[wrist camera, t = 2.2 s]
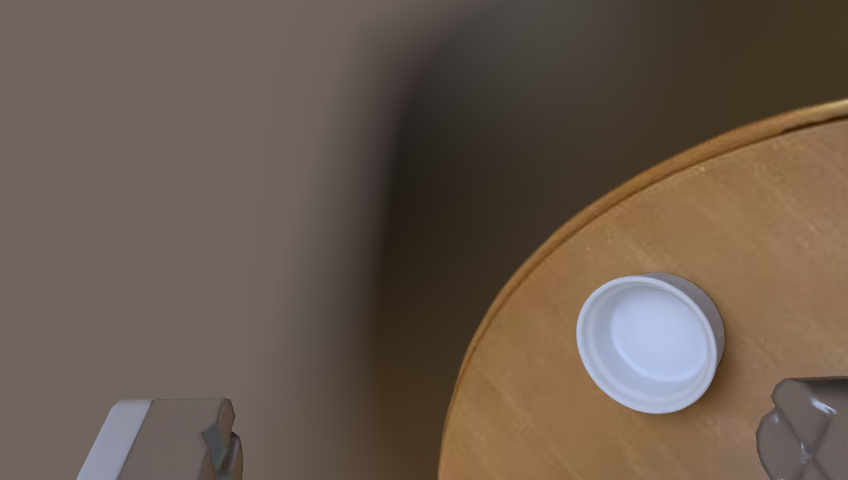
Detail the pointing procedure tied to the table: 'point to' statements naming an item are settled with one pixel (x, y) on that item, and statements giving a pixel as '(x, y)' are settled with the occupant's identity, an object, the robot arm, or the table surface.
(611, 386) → the ramekin
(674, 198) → the table surface
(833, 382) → the robot arm
